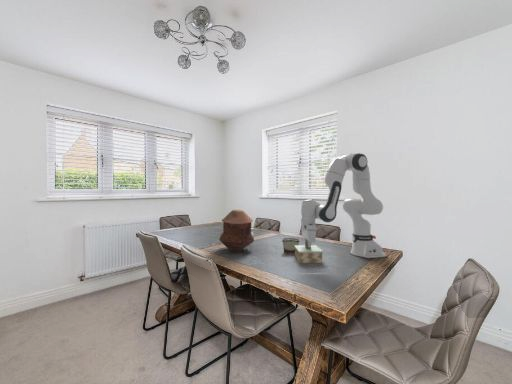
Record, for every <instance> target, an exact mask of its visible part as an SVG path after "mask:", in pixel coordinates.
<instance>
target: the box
mask: <svg viewBox="0 0 512 384" xmlns="http://www.w3.org/2000/svg"><path fill="white" fill-rule="evenodd" d="M294 257H295V258H296V260H297V261H298V263H299V264H323V253H299V252H298V251H297V249H296V248H295V253H294Z"/></svg>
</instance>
